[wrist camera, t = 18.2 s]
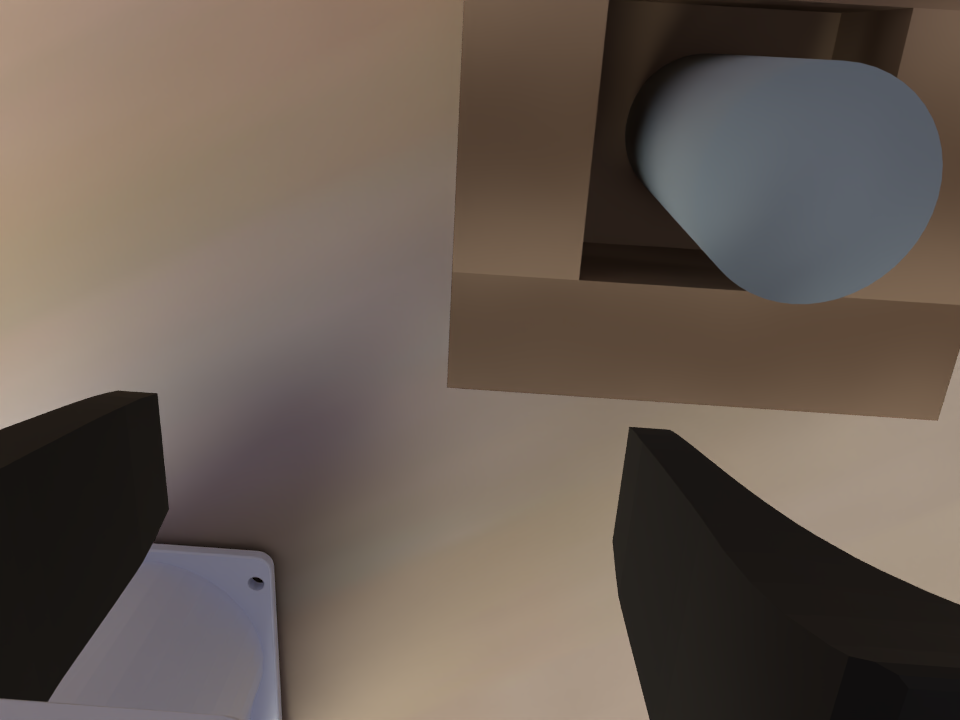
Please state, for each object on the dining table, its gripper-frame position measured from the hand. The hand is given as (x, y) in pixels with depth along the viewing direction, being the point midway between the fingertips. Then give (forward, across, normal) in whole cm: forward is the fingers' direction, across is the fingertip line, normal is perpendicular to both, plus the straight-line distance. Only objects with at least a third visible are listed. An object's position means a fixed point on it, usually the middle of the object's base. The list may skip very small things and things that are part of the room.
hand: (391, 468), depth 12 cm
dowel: (+9, -6, -4) cm, 12 cm away
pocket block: (+10, -6, -4) cm, 13 cm away
